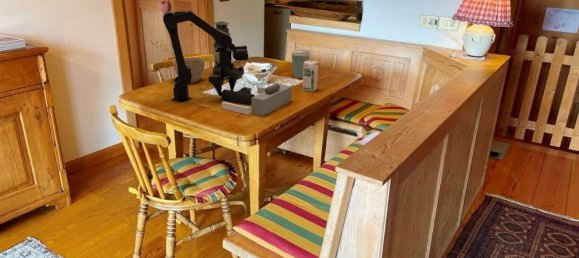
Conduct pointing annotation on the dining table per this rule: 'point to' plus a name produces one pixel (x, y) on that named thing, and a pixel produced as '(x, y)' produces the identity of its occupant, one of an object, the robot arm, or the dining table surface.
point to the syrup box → (310, 75)
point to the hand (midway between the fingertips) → (226, 93)
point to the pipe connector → (238, 95)
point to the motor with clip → (264, 100)
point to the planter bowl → (193, 67)
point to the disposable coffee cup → (299, 61)
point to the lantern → (222, 27)
